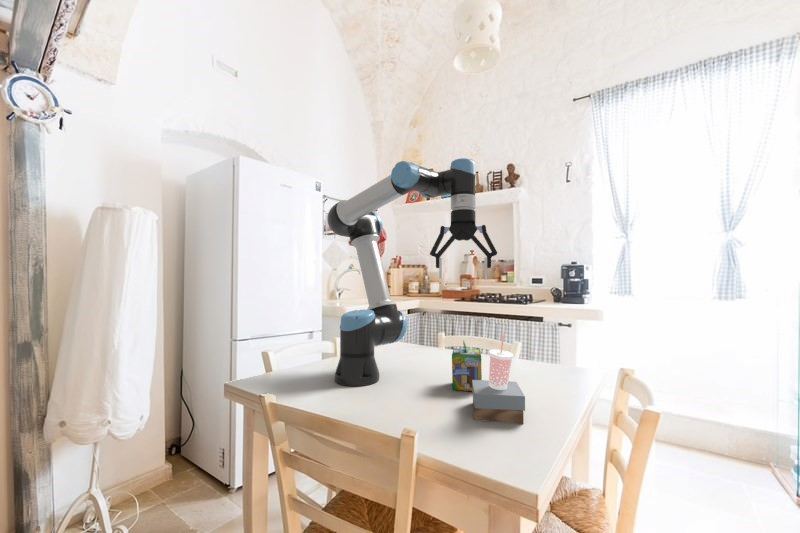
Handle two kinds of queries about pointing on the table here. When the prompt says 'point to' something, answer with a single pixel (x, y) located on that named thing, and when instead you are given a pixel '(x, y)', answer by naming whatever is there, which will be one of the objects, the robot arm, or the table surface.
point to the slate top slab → (497, 396)
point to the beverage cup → (499, 367)
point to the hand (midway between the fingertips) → (463, 279)
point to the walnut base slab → (498, 415)
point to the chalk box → (465, 368)
